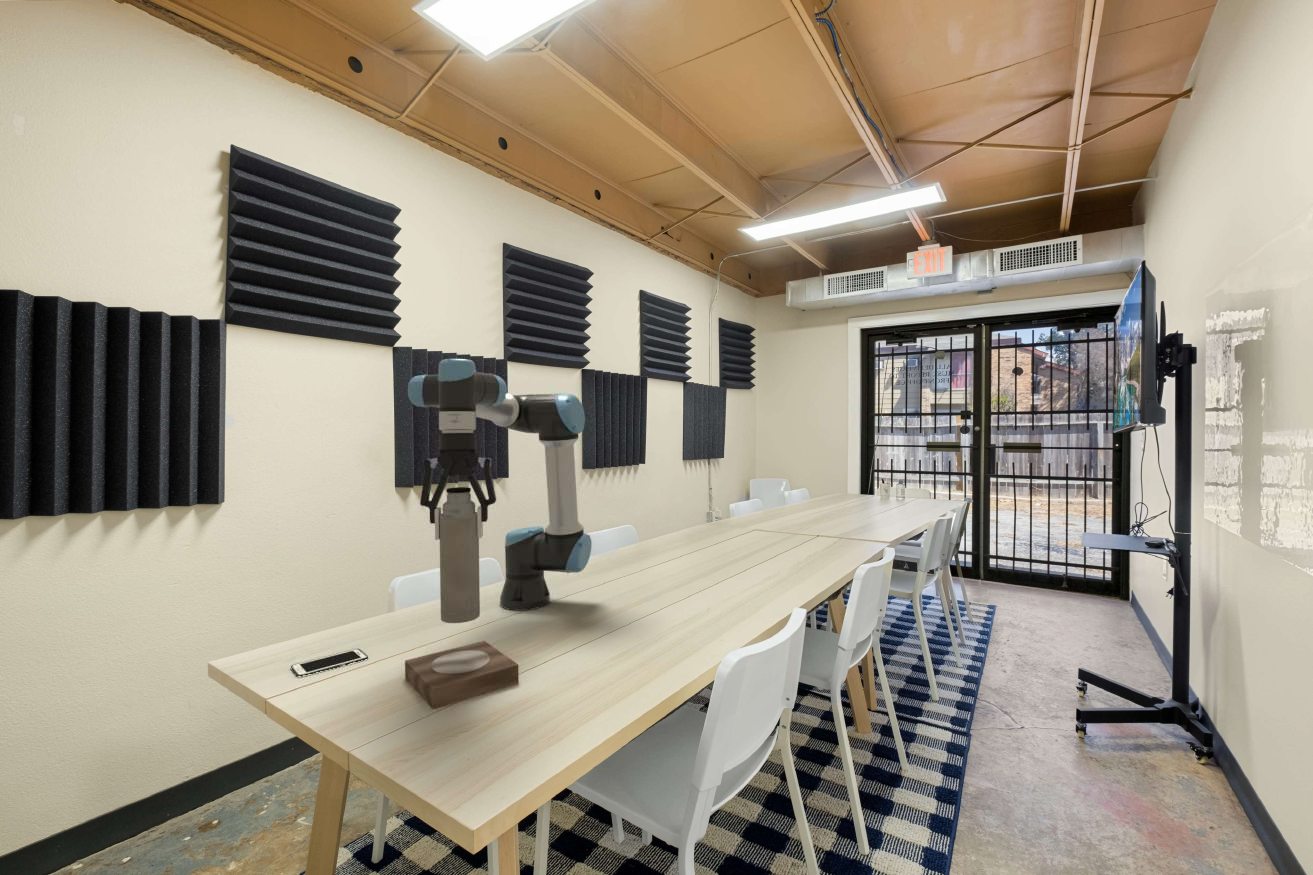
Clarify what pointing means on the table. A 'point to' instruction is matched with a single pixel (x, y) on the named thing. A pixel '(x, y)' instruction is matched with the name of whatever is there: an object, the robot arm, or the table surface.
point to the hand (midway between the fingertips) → (459, 537)
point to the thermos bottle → (459, 558)
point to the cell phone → (328, 662)
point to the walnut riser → (460, 673)
